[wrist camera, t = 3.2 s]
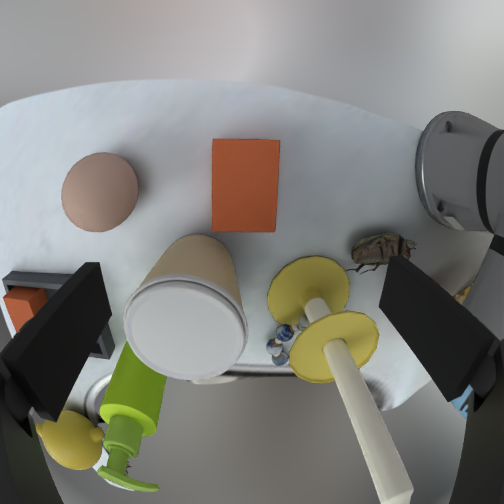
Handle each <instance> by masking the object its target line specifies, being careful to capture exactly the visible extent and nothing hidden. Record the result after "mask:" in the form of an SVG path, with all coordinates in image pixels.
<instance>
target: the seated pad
mask: <svg viewBox="0 0 504 504" xmlns="http://www.w3.org/2000/svg"><path fill="white" fill-rule="evenodd" d="M3 299H4V302H5V305H6V307H7V310H8V313H9V315H10V318H11V320H12V323H13V325H14V327H15V330H16V332H19V329H20V328H21V327H22V326H23V325H24V324H25V322H27V321H28V320H30V319H31V318H32V317H34V316H35V315H36V313H37V312H38V311H39V310H40V309H41V308H42V307H43V306H44V304H45V303H46V302H47V301H48V299H47V296H46V293H45V289H44V288H34V287H24V286H15V287H14V288H12V289H11V290H10V291H9V292H8V293H7V294H6V295H5V296H4V297H3Z"/></svg>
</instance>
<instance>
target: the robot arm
mask: <svg viewBox="0 0 504 504" xmlns="http://www.w3.org/2000/svg"><path fill="white" fill-rule="evenodd" d="M416 180H417V187H418V191H419V195H420V198H421V200H422V203H423V205H424V207H425V209H426V210H427V212H428V213H429V215H430V216H431V217H432V218H433V219H434V220H435V221H437V222H438V223H440V224H442V225H444V226H446V227H448V228H450V229H455V230H463V231H488V232H490V233H492V234H494V237H493V239H492V242H491V245H490V247H489V249H488V251H487V254H486V256H485V258H484V261H483V263H482V265H481V267H480V270H479V272H478V274H477V276H476V278H475V280H474V282H473V284H472V286H471V288H470V290H469V292H468V294H467V296H466V298H465V299H464V301H463V303H462V305H461V304H460V303H459V302H458V301H457V300H456V299H455V298H453V297H452V296H451V295H450V294H449V293H448V292H447V291H445V290H444V289H443V288H442V287H441V286H440V285H438V284H437V283H436V282H435V281H434V280H432V279H431V278H430V277H429V276H428V275H426V274H425V273H424V272H423V271H421V270H420V269H419V268H418V267H417V266H415V265H414V264H413V263H412V262H410V261H409V260H408V259H406V258H405V257H404V256H390V259H389V264H388V269H387V273H386V278H385V282H384V287H383V291H382V295H381V299H380V303H379V308H380V309H381V310H382V311H383V313H384V314H385V315H386V317H387V318H388V319H389V321H390V322H391V323H392V324H393V326H394V327H395V328H396V330H397V331H398V332H399V334H400V335H401V336H402V338H403V339H404V340H405V342H406V343H407V344H408V346H409V347H410V348H411V350H412V351H413V353H414V354H415V355H416V357H417V358H418V359H419V361H420V362H421V364H422V365H423V367H424V368H425V369H426V371H427V372H428V374H429V375H430V377H431V378H432V379H433V381H434V382H435V384H436V385H437V387H438V388H439V390H440V391H441V393H442V394H443V396H444V397H445V399H446V400H447V402H450V401H451V402H452V404H453V405H454V407H455V408H456V409H457V410H458V411H459V412H460V413H461V415H463V417H465V418H466V419H467V422H466V430H465V437H464V443H463V449H462V454H461V459H460V465H459V469H458V473H457V477H456V481H455V485H454V488H453V492H452V496H451V499H450V502H449V504H504V130H501V129H498V128H496V127H494V126H493V125H491V124H489V123H487V122H485V121H483V120H481V119H479V118H477V117H475V116H473V115H471V114H468V113H465V112H460V111H449V112H443V113H441V114H439V115H437V116H435V117H434V118H433V119H432V120H431V121H430V122H429V124H428V125H427V126H426V128H425V130H424V132H423V134H422V136H421V139H420V142H419V145H418V150H417V156H416ZM111 316H112V312H111V308H110V305H109V301H108V297H107V293H106V289H105V285H104V281H103V276H102V272H101V267H100V263H99V262H85V263H84V264H83V265H82V266H81V267H80V268H79V269H78V270H77V271H76V272H75V273H74V274H73V275H72V276H71V277H70V278H69V279H68V280H67V281H66V282H65V283H64V284H63V285H62V286H61V287H60V288H59V289H58V291H57V292H56V293H55V294H54V295H53V296H52V297H51V298H50V299H49V300H48V301H47V302H46V303H45V304H44V306H43V307H42V308H41V309H40V310H39V311H38V312H37V313H36V315H35V316H34V317H32V318H31V319H30V320H28V321H27V322H25V324H24V325H23V326H22V327H21V328H20V329H19V332H17V333H16V334H15V335H14V338H13V339H11V341H10V342H9V343H8V344H7V345H6V347H5V348H4V349H3V350H2V352H1V353H0V504H64V503H63V501H62V499H61V497H60V495H59V493H58V490H57V488H56V486H55V483H54V481H53V479H52V476H51V474H50V471H49V468H48V466H47V463H46V461H45V457H44V454H43V452H42V449H41V445H40V442H39V439H38V435H37V432H36V428H35V424H34V420H33V418H32V416H31V415H30V413H29V411H30V410H31V408H32V407H33V408H34V410H35V411H36V412H37V413H38V415H39V416H40V417H41V418H44V419H47V420H50V421H53V422H56V423H57V420H58V418H59V416H60V414H61V411H62V409H63V407H64V405H65V403H66V401H67V398H68V396H69V394H70V392H71V390H72V388H73V386H74V384H75V382H76V380H77V378H78V376H79V374H80V372H81V370H82V368H83V366H84V364H85V362H86V360H87V359H88V357H89V355H90V353H91V351H92V349H93V347H94V346H95V344H96V342H97V340H98V338H99V337H100V335H101V333H102V331H103V329H104V328H105V326H106V324H107V322H108V321H109V319H110V317H111Z"/></svg>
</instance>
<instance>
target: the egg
mask: <svg viewBox="0 0 504 504" xmlns="http://www.w3.org/2000/svg"><path fill="white" fill-rule="evenodd" d="M137 197H138V182H137V178H136V175H135V172H134V170H133V169H132V167H131V166H130V165H129V163H128V162H126V161H125V160H124V159H123V158H121V157H120V156H118V155H115V154H111V153H107V152H103V153H95V154H92V155H89V156H86V157H84V158H83V159H81V160H80V161H78V162H77V163H76V164H75V165H74V166H73V167H72V168H71V169H70V171H69V172H68V174H67V176H66V178H65V180H64V183H63V187H62V194H61V200H62V205H63V209H64V212H65V214H66V216H67V217H68V218H69V220H70V221H71V222H72V223H73V224H74V225H76V226H77V227H79V228H81V229H83V230H86V231H90V232H104V231H108V230H111V229H113V228H115V227H117V226H118V225H120V224H121V223H122V222H123V221H125V220H126V219H127V218H128V216H129V215H130V214H131V212H132V211H133V209H134V207H135V204H136V202H137Z"/></svg>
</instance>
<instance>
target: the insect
mask: <svg viewBox="0 0 504 504" xmlns="http://www.w3.org/2000/svg"><path fill="white" fill-rule="evenodd" d="M406 242H408V243H410V244H412V245H413V246H414V247H415V245H417V244H415V242H412V241H411V240H407V239H404V238H403V237H401V236H400V235H398V234H395V233H393V232H389V233H384V234H379V235H375V236H371V237H366V238H363V239H361V240H359V241H358V242H357V244H356V245H355V246H354V247H353V249H352V260H354V262H355V263H356V264H361V265H360V266H359V267H358V268H357V269H349V270H355V271H356V272H357V273H358V271H359V270H360V269H361V268H362V267H363V266H364V265H376V267H375V268H374V269H370V270H373V271H375V270H376V269H377V268H378V267H379V266H380V265H387V264H389V259H390V256H404V255H405V256H406V257H407V259H409V258H410V257H411V253H410V250H411V249H412V248H409V247H408V246H407V243H406ZM414 247H413V249H416V248H414ZM405 256H404V257H405ZM406 257H405V258H406ZM370 270H367V271H370ZM346 271H348V270H346ZM367 271H364V272H367ZM344 272H345V271H343V273H344ZM364 272H362V273H364ZM362 273H361V274H362ZM359 275H360V274H359Z"/></svg>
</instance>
